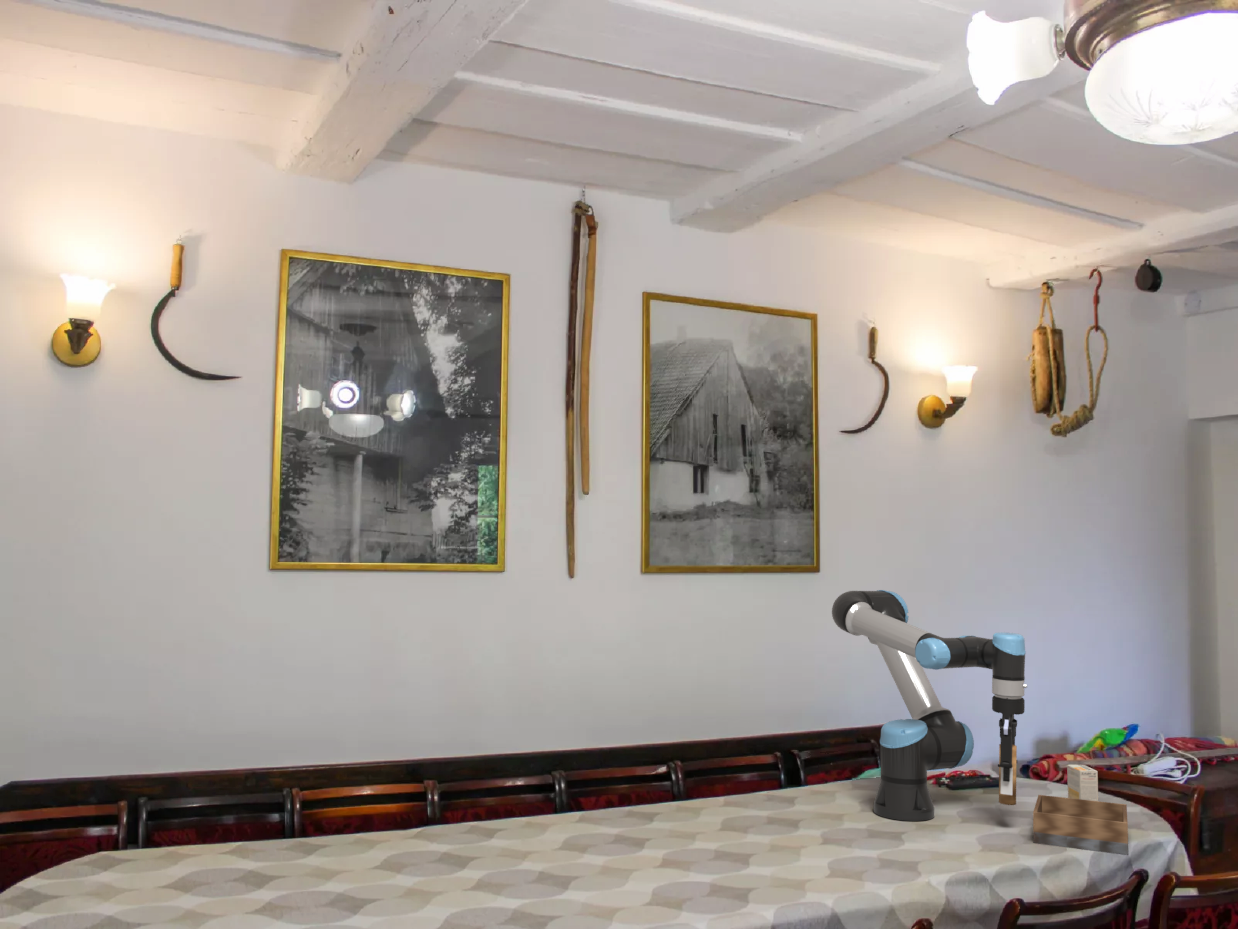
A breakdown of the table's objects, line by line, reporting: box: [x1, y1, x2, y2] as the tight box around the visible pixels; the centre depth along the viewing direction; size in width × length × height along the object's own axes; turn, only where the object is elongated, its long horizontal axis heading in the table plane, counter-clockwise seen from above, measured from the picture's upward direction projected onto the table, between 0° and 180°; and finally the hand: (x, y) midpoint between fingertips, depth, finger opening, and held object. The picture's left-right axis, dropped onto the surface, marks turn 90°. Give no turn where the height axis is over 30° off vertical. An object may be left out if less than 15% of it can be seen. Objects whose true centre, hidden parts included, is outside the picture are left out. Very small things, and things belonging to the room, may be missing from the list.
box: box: [1032, 794, 1129, 856], centre depth 249 cm, size 20×20×7 cm
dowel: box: [998, 743, 1018, 806], centre depth 257 cm, size 4×4×14 cm
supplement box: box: [1066, 764, 1099, 801], centre depth 268 cm, size 8×5×13 cm, turn 179°
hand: (1007, 791), depth 256 cm, fingers closed on dowel, 4 cm apart
